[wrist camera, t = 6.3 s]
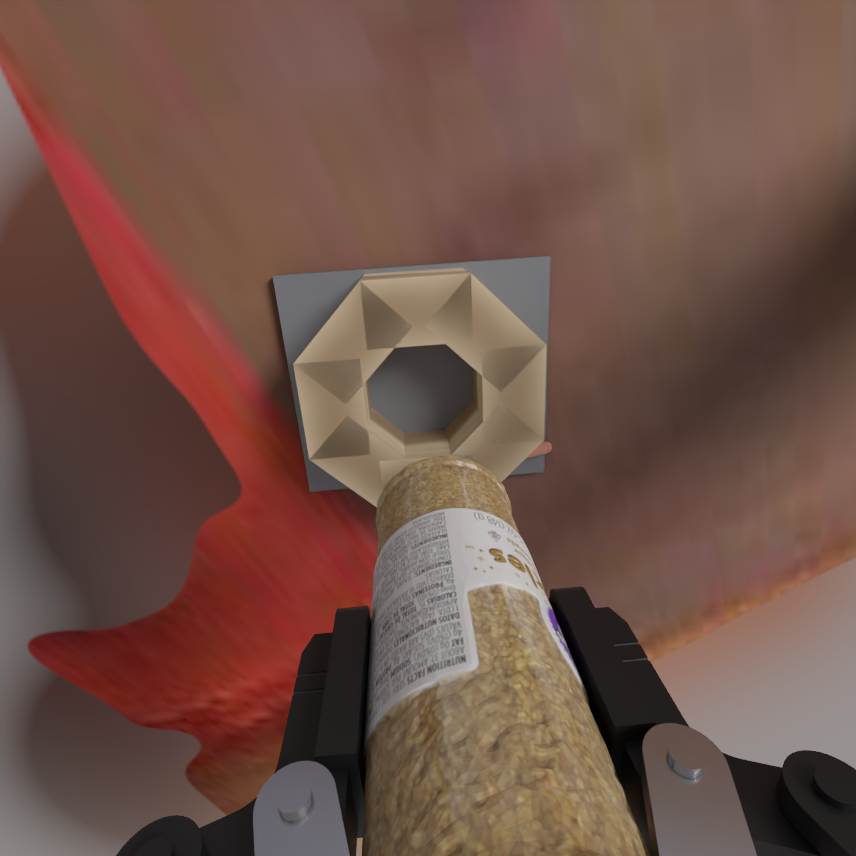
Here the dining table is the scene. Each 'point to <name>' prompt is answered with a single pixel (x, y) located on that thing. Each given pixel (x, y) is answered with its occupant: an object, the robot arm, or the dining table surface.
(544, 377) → the octagonal faceted ring
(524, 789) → the sprinkles bottle
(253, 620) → the dining table surface
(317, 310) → the mat
